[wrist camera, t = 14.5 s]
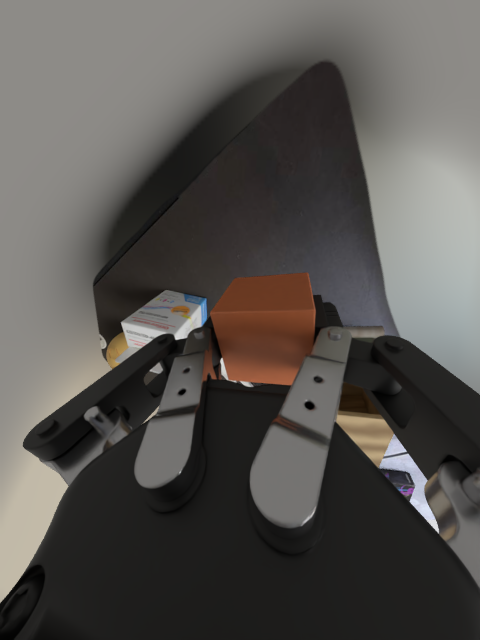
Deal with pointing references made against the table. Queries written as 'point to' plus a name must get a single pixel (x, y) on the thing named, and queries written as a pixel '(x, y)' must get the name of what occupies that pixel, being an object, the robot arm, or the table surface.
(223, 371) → the white plastic blade
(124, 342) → the stress ball
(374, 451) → the cabinet
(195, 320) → the ink box
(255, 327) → the block
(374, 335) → the drawer
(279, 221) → the table surface
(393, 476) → the box
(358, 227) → the table surface
